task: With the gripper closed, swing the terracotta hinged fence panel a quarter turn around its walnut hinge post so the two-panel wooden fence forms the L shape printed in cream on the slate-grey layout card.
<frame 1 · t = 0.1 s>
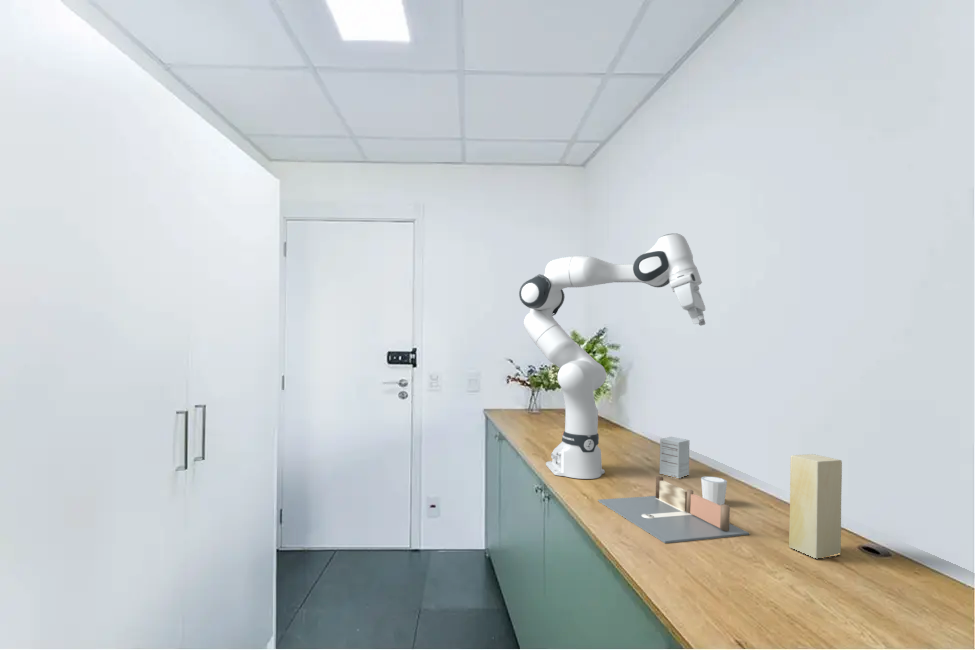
hand: (699, 324, 153), 52 cm above the countertop, tool tilted 20°, fingers open, 8 cm apart
fixed fence panel: (689, 515, 134), resting on layout card
hinged fence panel: (706, 509, 128), point 4 cm above the countertop, hinge at 0.0°
supplement box: (674, 475, 175), on the countertop
toy refrigerator: (812, 552, 113), on the countertop
white cup: (713, 504, 145), on the countertop
layout card: (667, 516, 132), on the countertop
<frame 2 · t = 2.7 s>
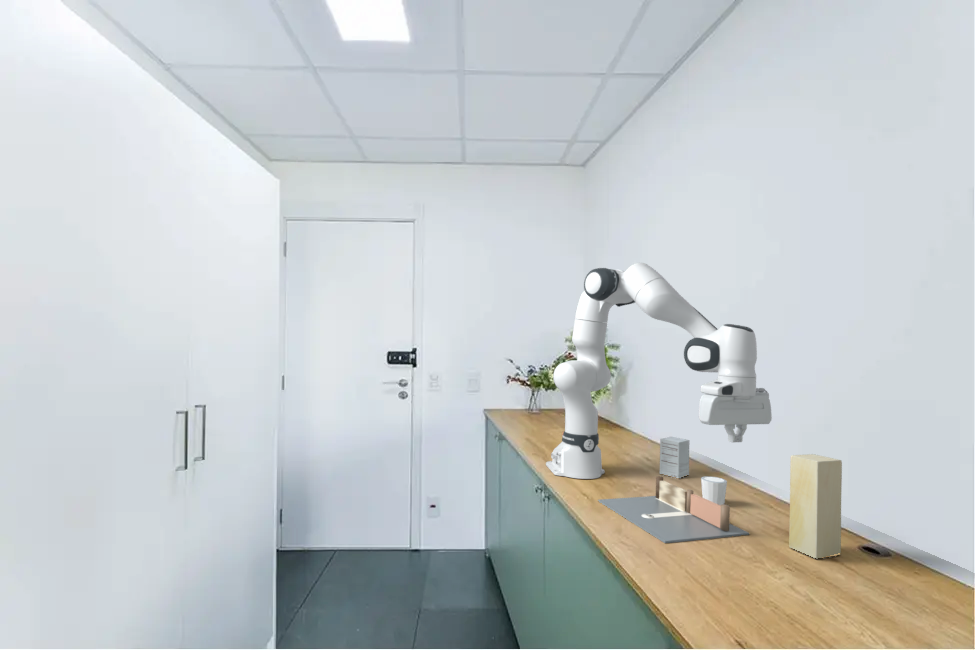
hand: (735, 441, 128), 21 cm above the countertop, tool pointing down, fingers closed
nothing on the countertop moved.
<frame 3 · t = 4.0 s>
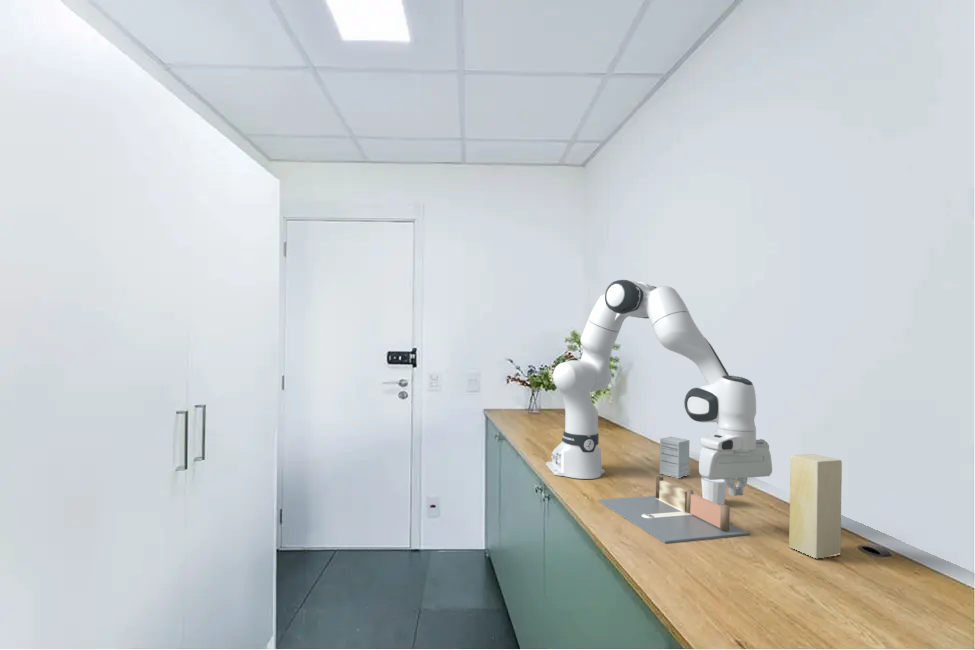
hand: (736, 495, 127), 8 cm above the countertop, tool pointing down, fingers closed
nothing on the countertop moved.
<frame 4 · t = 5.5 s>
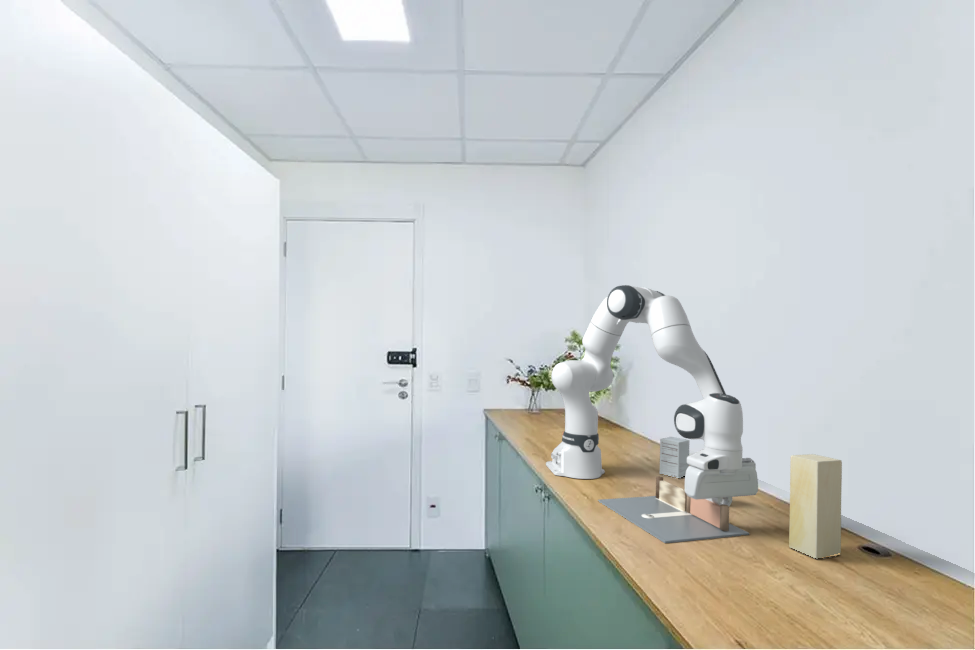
hand: (721, 514, 126), 3 cm above the countertop, tool pointing down, fingers closed
hinged fence panel: (706, 509, 128), point 4 cm above the countertop, hinge at 0.7°, touching gripper
everything else where it was.
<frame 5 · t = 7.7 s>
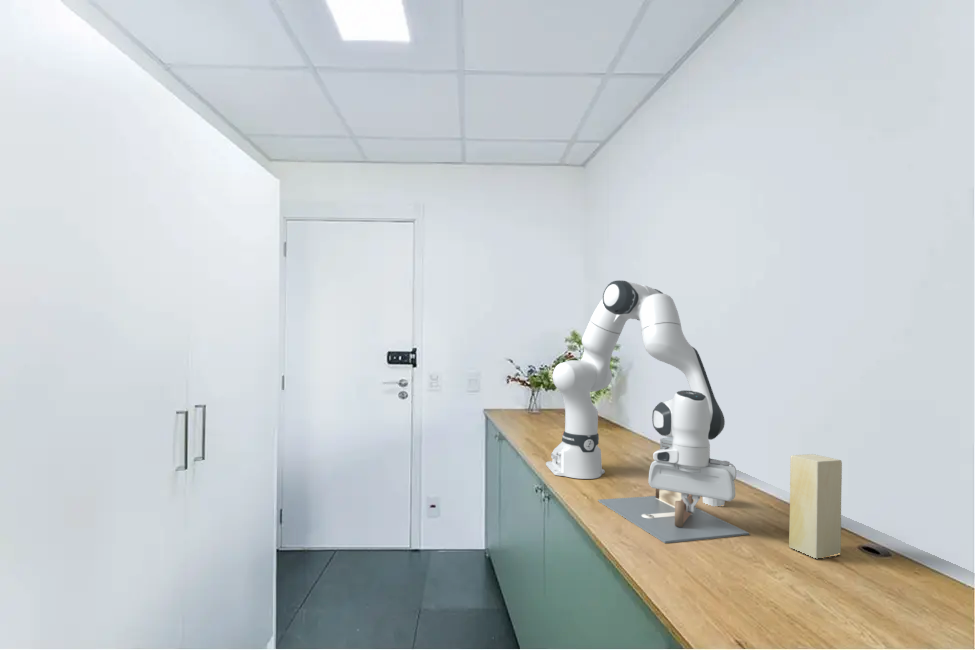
hand: (690, 512, 126), 4 cm above the countertop, tool pointing down, fingers closed
hinged fence panel: (684, 507, 129), point 4 cm above the countertop, hinge at 50.7°, touching gripper
everything else where it was.
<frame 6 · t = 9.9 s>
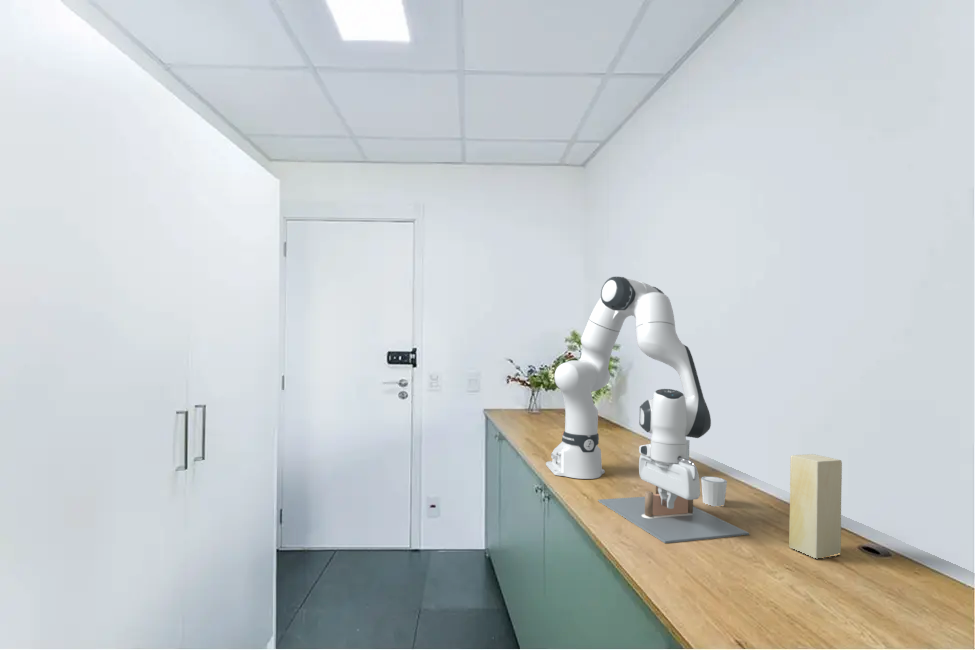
hand: (667, 507, 129), 3 cm above the countertop, tool pointing down, fingers closed
hinged fence panel: (669, 502, 132), point 4 cm above the countertop, hinge at 92.0°
everything else where it was.
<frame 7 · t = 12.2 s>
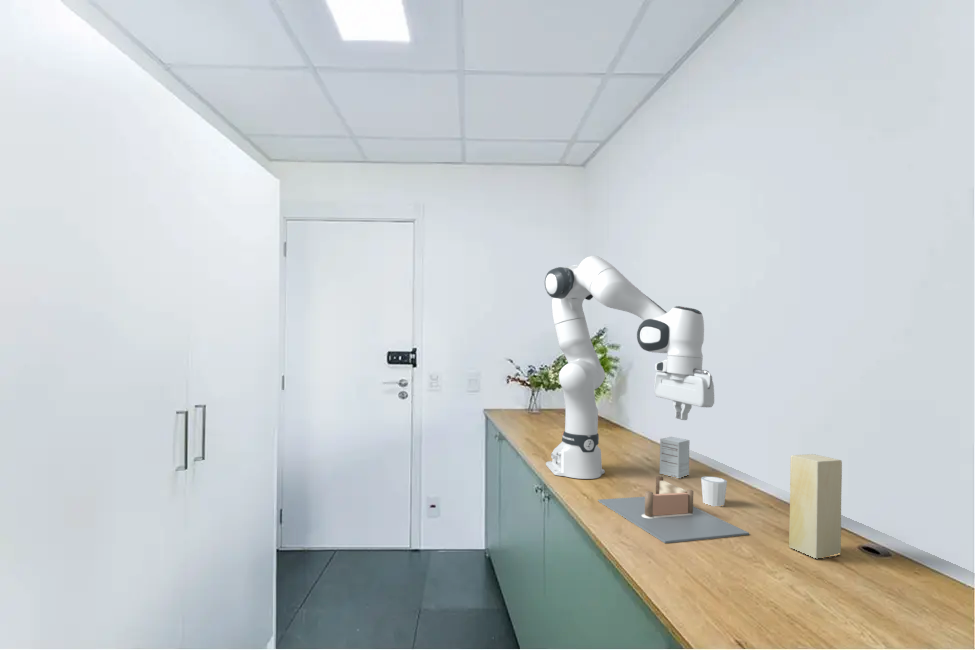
hand: (681, 419, 133), 26 cm above the countertop, tool pointing down, fingers closed
nothing on the countertop moved.
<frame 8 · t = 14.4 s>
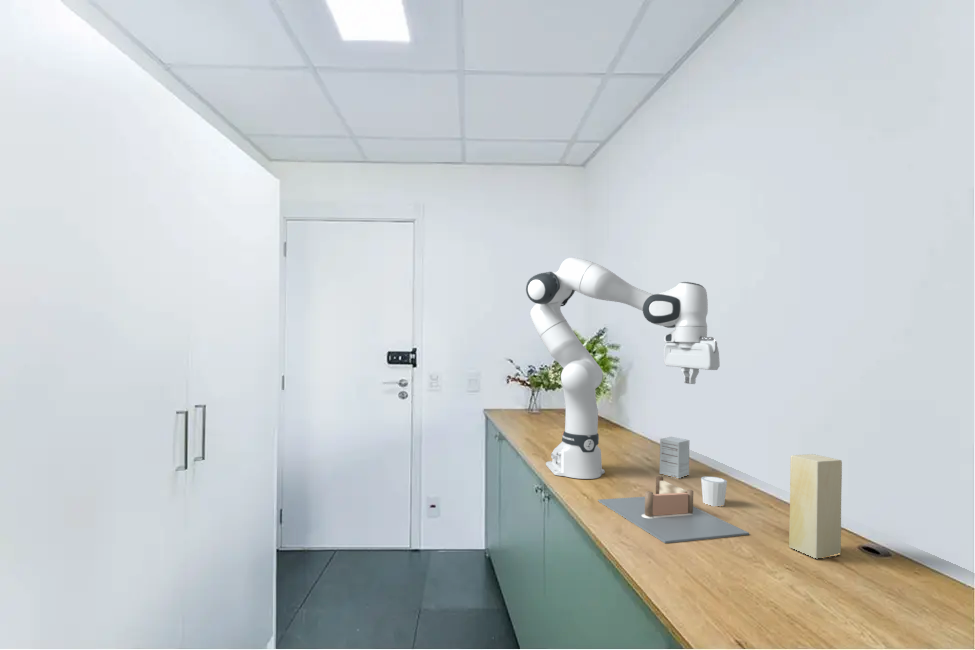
hand: (689, 383, 148), 34 cm above the countertop, tool pointing down, fingers closed
nothing on the countertop moved.
at the end: hinged fence panel at +92° (first picture: +0°); toy refrigerator moved 0.2 cm from its start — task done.
